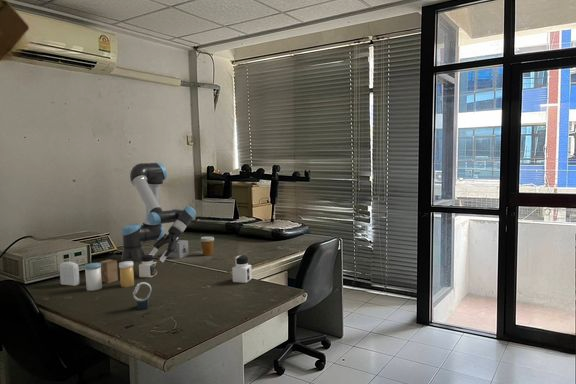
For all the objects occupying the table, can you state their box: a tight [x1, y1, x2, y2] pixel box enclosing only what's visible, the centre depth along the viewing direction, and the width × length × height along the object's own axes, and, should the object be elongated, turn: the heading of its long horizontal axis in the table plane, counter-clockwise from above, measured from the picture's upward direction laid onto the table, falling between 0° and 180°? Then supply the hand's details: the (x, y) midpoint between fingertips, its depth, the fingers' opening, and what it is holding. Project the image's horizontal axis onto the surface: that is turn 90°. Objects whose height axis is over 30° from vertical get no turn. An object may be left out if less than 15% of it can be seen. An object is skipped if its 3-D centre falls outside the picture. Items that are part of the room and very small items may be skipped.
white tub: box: [84, 262, 103, 292], centre depth 215 cm, size 8×8×13 cm
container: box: [231, 255, 253, 284], centre depth 221 cm, size 8×8×13 cm
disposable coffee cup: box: [200, 235, 215, 257], centre depth 286 cm, size 10×10×12 cm
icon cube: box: [166, 239, 190, 259], centre depth 285 cm, size 10×10×10 cm
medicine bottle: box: [138, 253, 158, 278], centre depth 237 cm, size 7×7×12 cm
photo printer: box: [59, 261, 80, 287], centre depth 224 cm, size 10×4×12 cm, turn 72°
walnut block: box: [99, 259, 119, 284], centre depth 228 cm, size 6×6×11 cm
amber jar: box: [118, 261, 135, 288], centre depth 219 cm, size 7×7×12 cm
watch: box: [131, 281, 152, 311], centre depth 184 cm, size 6×8×11 cm
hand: (155, 259), depth 238 cm, fingers open, 13 cm apart
